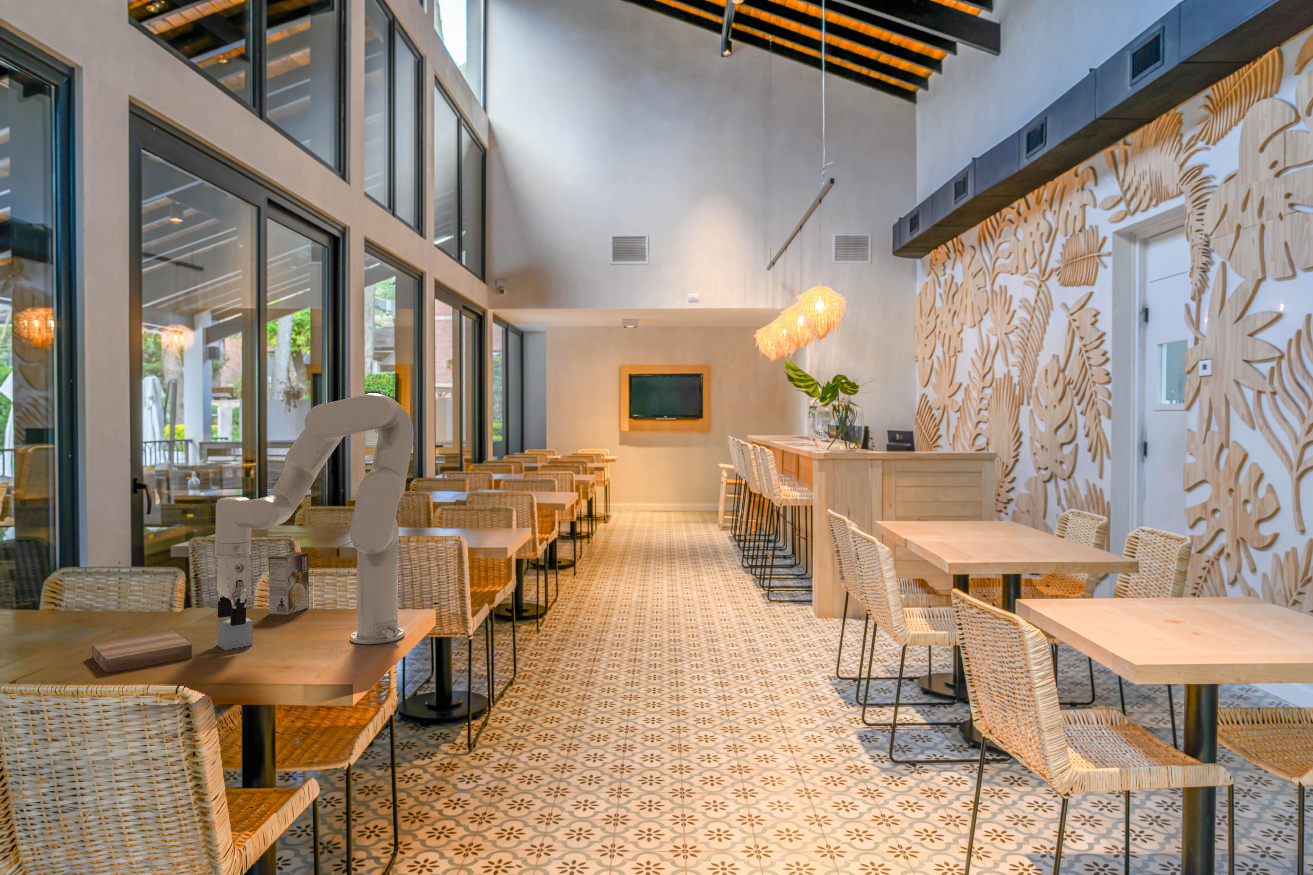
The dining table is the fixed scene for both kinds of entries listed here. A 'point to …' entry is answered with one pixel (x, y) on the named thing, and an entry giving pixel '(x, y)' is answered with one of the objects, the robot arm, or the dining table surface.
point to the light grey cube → (234, 634)
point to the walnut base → (141, 651)
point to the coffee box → (288, 582)
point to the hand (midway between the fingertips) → (231, 620)
